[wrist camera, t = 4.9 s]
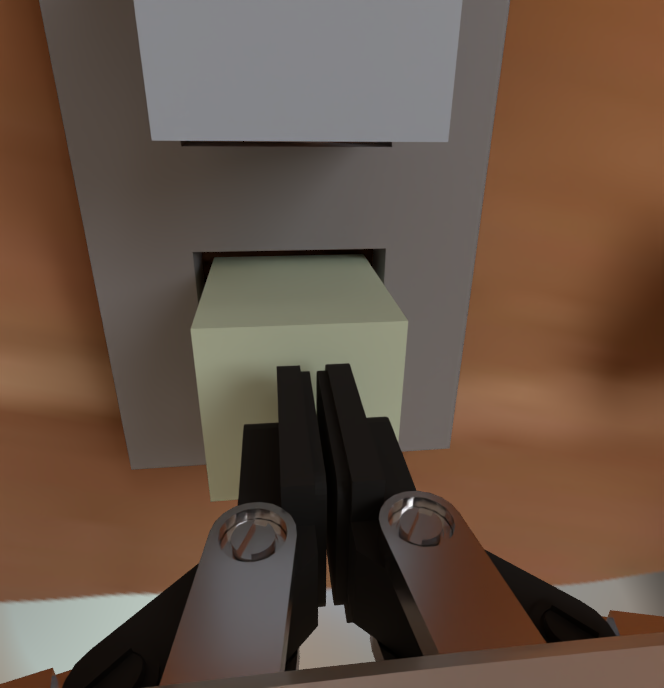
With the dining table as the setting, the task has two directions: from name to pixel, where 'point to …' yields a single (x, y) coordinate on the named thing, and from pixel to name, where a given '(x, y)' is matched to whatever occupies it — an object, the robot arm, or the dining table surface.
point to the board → (263, 221)
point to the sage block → (289, 344)
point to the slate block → (299, 69)
